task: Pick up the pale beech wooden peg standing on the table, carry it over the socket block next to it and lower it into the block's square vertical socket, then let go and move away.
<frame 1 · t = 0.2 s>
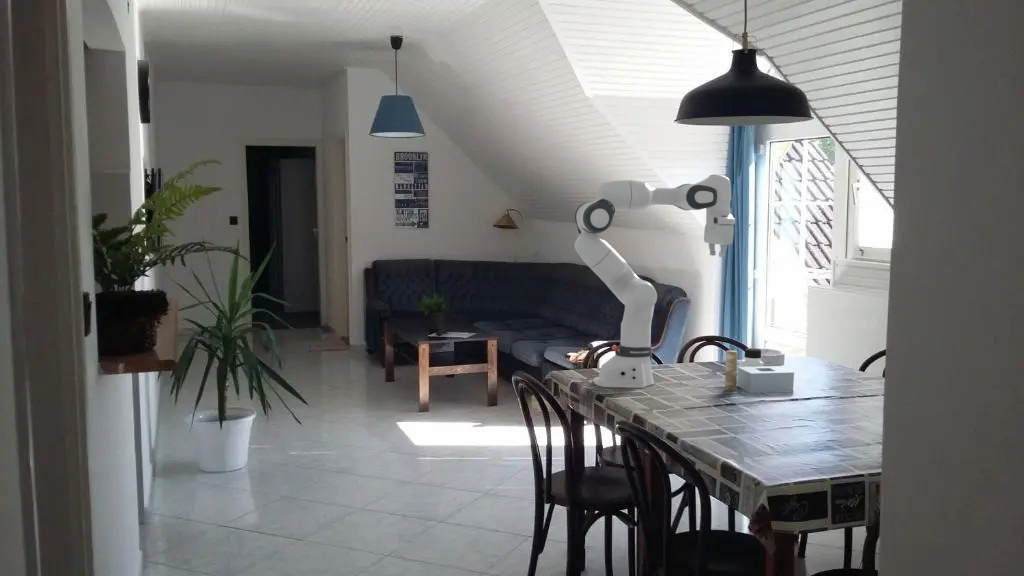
hand: (717, 256, 328), 47 cm above the table, tool pointing down, fingers open, 8 cm apart
socket block: (764, 388, 319), on the table
peg: (730, 389, 317), on the table
medicine bottle: (752, 380, 335), on the table
paper bowls: (764, 371, 353), on the table
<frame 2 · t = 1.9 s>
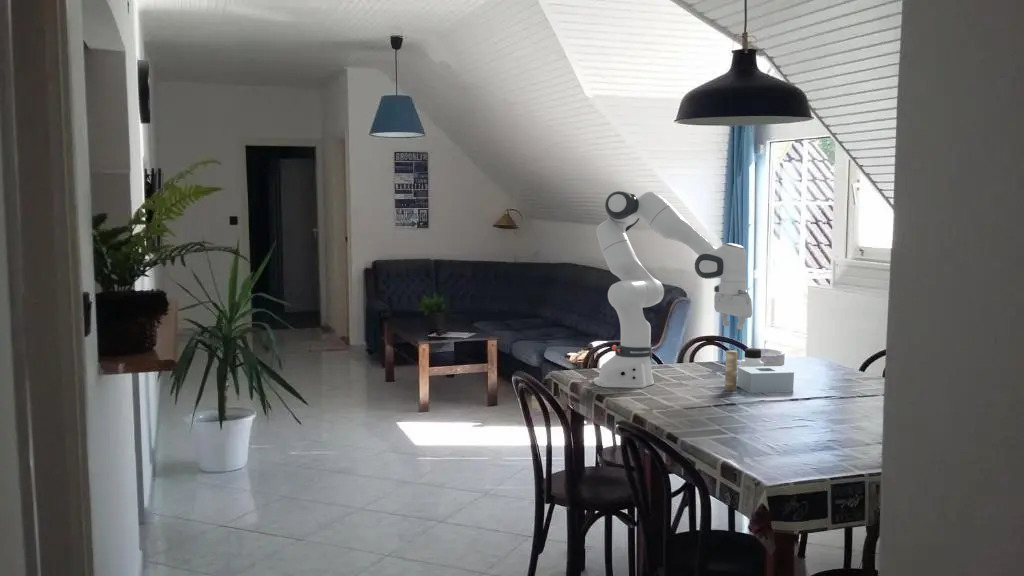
hand: (732, 327, 315), 23 cm above the table, tool pointing down, fingers open, 8 cm apart
nothing on the table moved.
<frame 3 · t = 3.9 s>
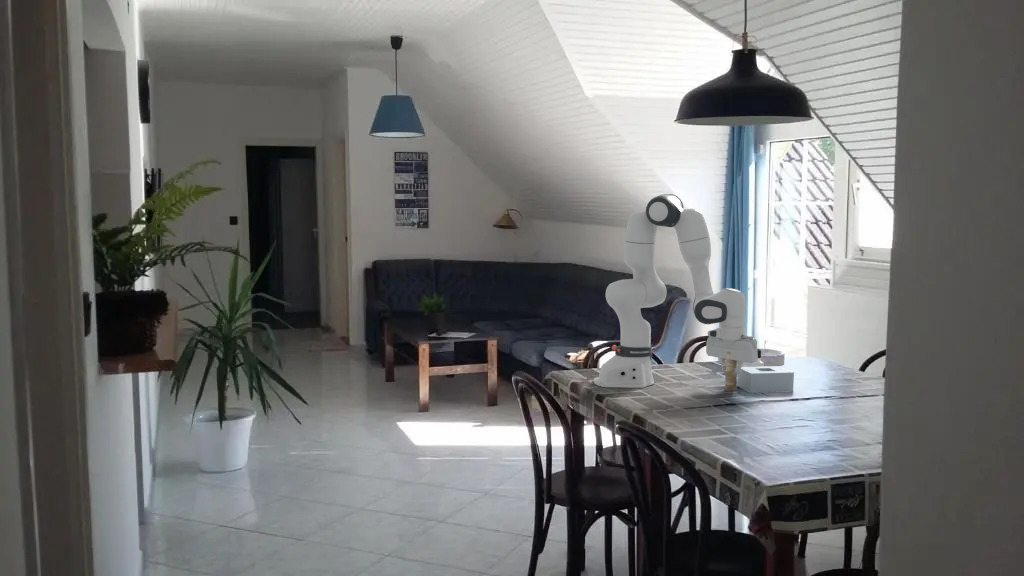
hand: (731, 371, 317), 7 cm above the table, tool pointing down, fingers closed on peg, 4 cm apart
peg: (730, 389, 317), on the table, touching gripper
everything else where it was.
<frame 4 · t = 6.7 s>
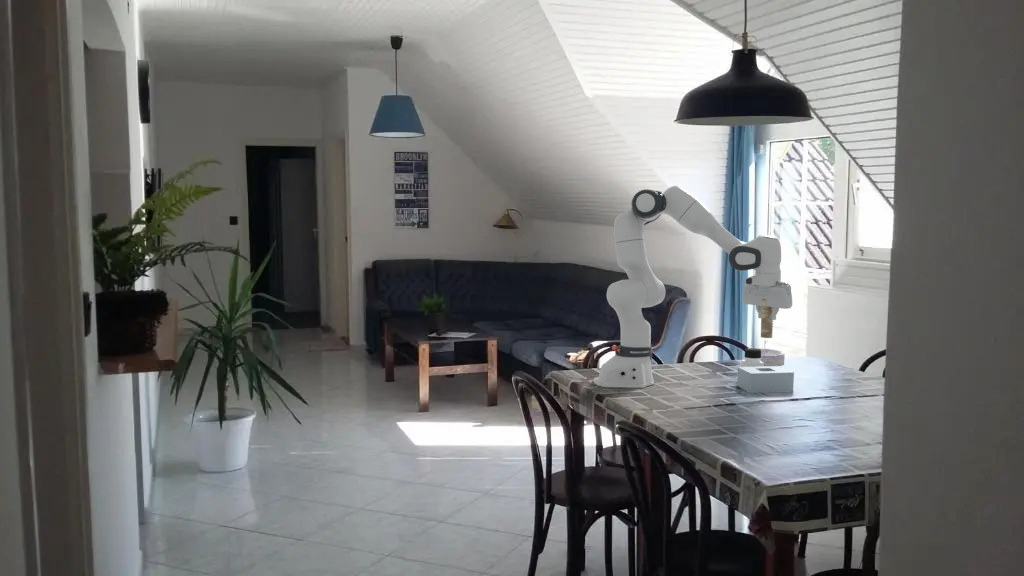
hand: (766, 318, 316), 26 cm above the table, tool pointing down, fingers closed on peg, 4 cm apart
peg: (766, 337, 317), point 19 cm above the table, touching gripper
everything else where it was.
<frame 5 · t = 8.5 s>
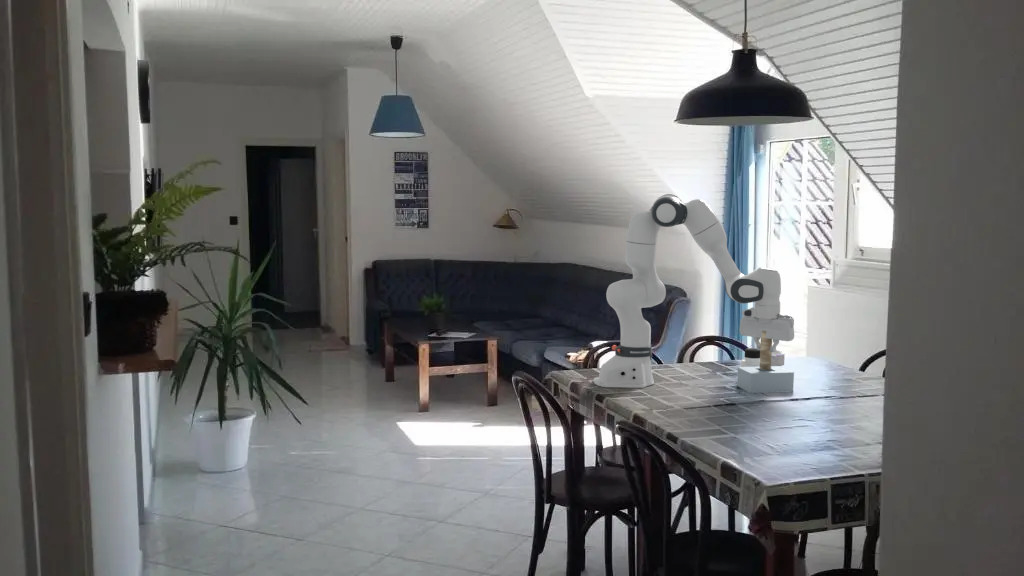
hand: (766, 350, 318), 14 cm above the table, tool pointing down, fingers closed on peg, 4 cm apart
peg: (765, 368, 318), point 7 cm above the table, touching gripper
everything else where it was.
when the fingers open (9 cm above the table, at t = 9.8 s): peg drops 1 cm, resting on socket block.
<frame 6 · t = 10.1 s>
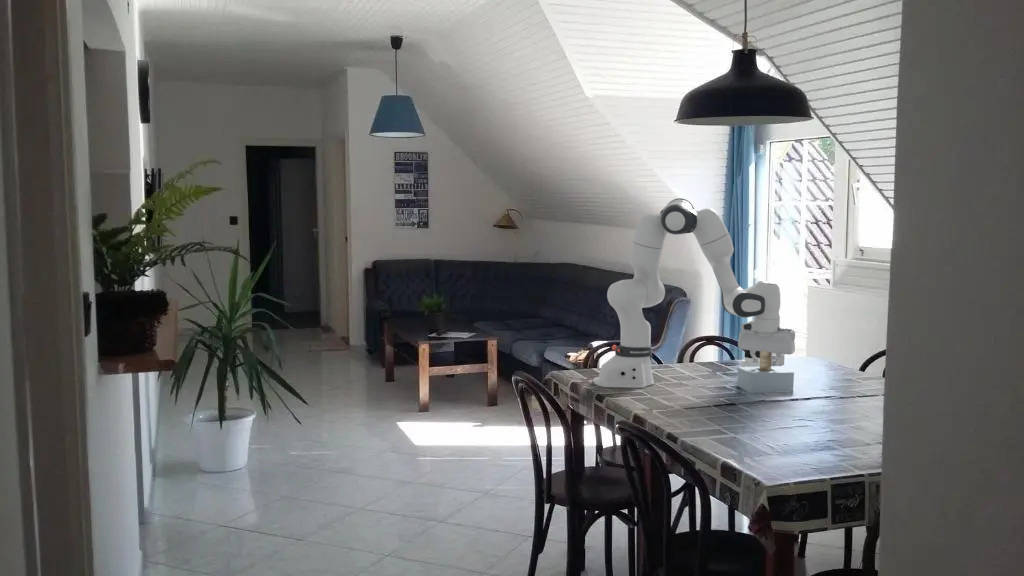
hand: (765, 364, 318), 9 cm above the table, tool pointing down, fingers open, 6 cm apart
peg: (764, 385, 319), point 1 cm above the table, touching socket block
everything else where it was.
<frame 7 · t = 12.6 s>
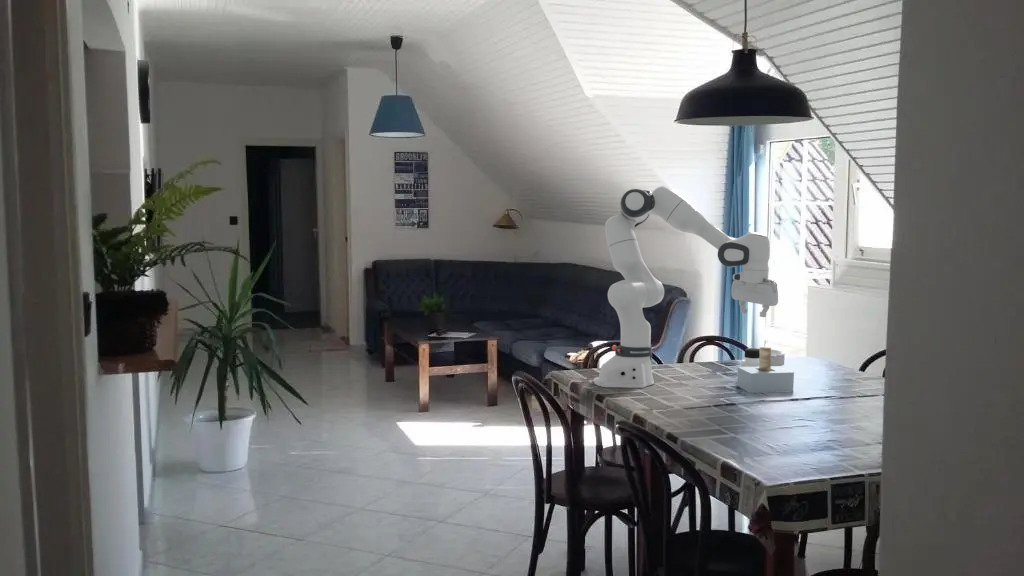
hand: (753, 314, 321), 26 cm above the table, tool pointing down, fingers open, 8 cm apart
nothing on the table moved.
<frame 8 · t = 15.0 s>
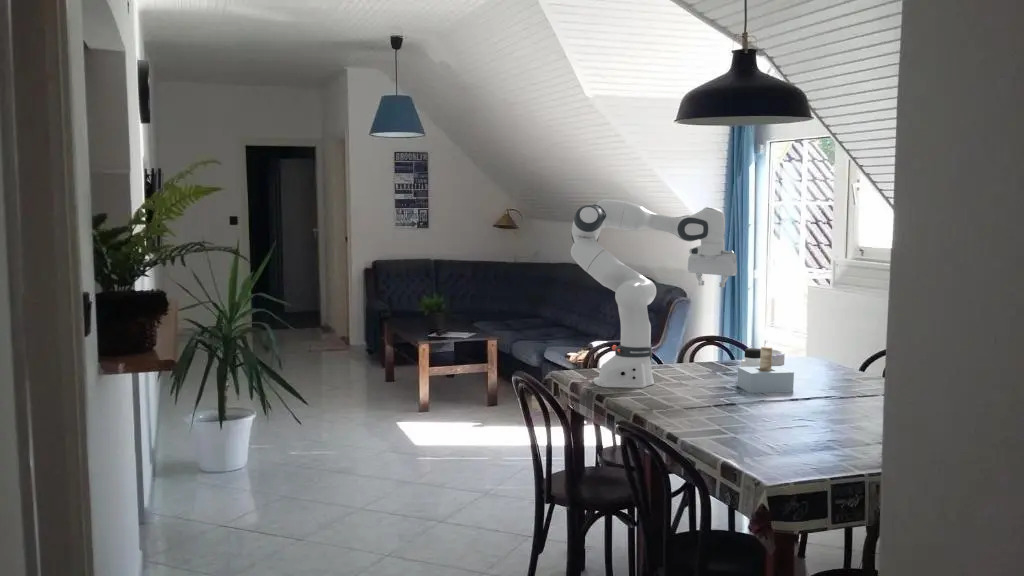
hand: (711, 286, 337), 35 cm above the table, tool pointing down, fingers open, 8 cm apart
nothing on the table moved.
at the end: peg 0.1 cm off-centre on the socket block, point 1.0 cm above the socket block's base; peg tilted 1°; the gripper is holding nothing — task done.
